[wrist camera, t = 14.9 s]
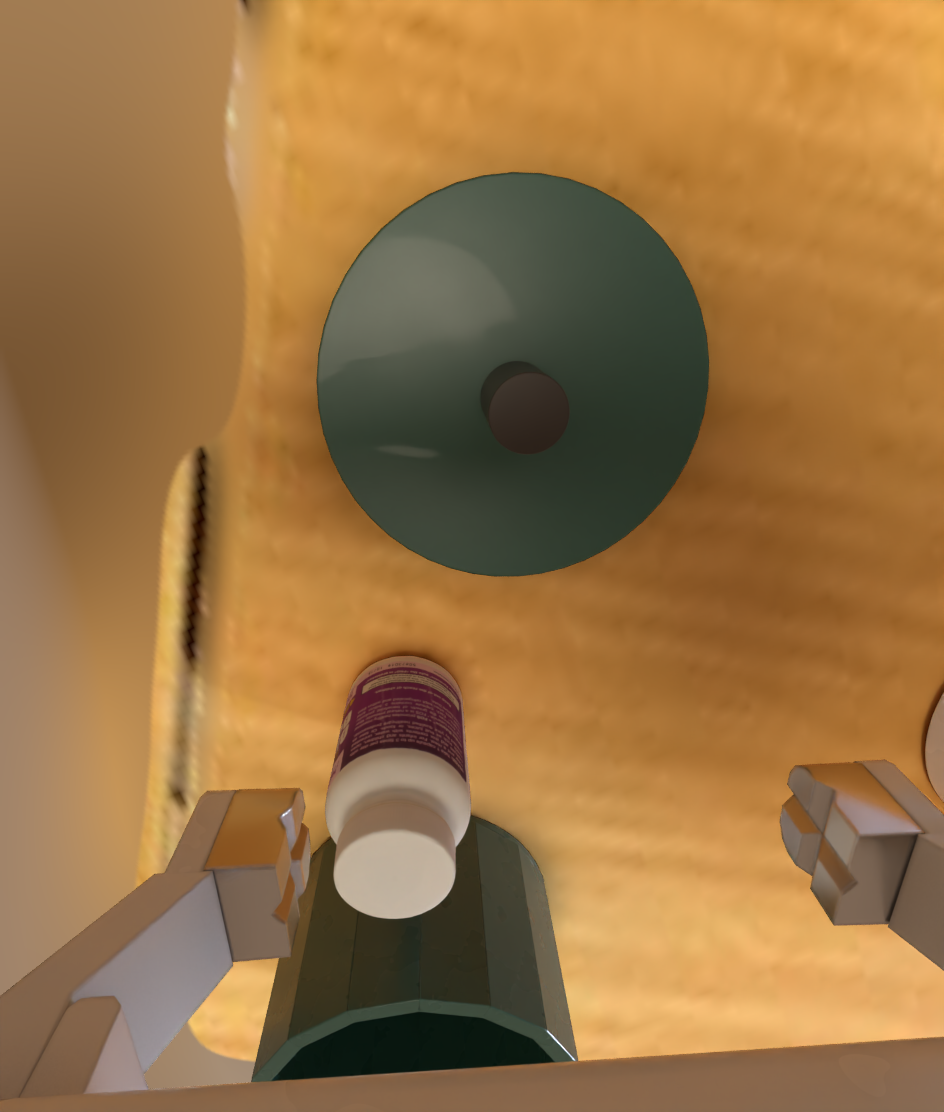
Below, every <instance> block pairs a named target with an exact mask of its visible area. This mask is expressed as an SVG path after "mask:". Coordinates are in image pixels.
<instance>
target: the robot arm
mask: <svg viewBox="0 0 944 1112" xmlns="http://www.w3.org/2000/svg"><path fill="white" fill-rule="evenodd" d="M925 759H926V767H927V772H928V776H929V779H930V782H931V784H932V786H933V788H934V790H935V792H936V793H937V795H938V796H939V797H940V799H941V800H942V801H943V802H944V693H943V694H942V696H941V698H940V700H939V702H938V704H937V706H936V709H935V711H934V713H933V716H932V719H931V722H930V725H929V729H928V733H927V739H926V748H925ZM787 785H788V786H789V788H790V789H791V791H792V792H793V795H792V796H791V797H790V798H789V799H788V800H787V801H786V802H785V803H784V804H783V805H782V811H781V817H780V826H781V833H782V839H783V842H784V844H785V847H786V849H787V852H788V854H789V855H790V857H791V858H792V860H793V862H794V863H795V865H796V866H798V867H799V868H801V869H802V870H804V871H805V872H807V873H808V874H810V875H811V876H812V880H811V887H810V889H811V890H812V892H813V894H814V895H815V897H816V898H817V900H818V901H819V903H820V905H821V906H822V908H823V909H824V911H825V912H826V914H827V916H828V917H829V919H830V920H831V922H832V923H833V925H870V924H889V925H888V927H889V928H890V929H891V930H893V931H894V932H895V933H896V934H898V935H899V936H900V937H902V938H903V939H904V940H905V941H907V942H908V943H909V944H910V945H912V946H913V947H914V948H916V949H917V950H918V951H919V952H921V953H922V954H923V955H925V956H926V957H927V958H928V959H930V960H931V961H932V962H933V963H935V964H936V965H937V966H939V967H940V968H941V969H942V970H944V815H943V814H942V813H941V812H940V811H939V810H938V809H937V808H936V807H935V806H934V805H933V804H932V803H931V801H930V800H929V799H928V798H927V797H926V796H925V795H924V794H923V793H922V792H921V791H920V790H919V789H918V788H917V787H916V786H915V785H914V784H913V783H912V782H911V781H910V780H909V779H908V778H907V777H906V776H905V775H904V774H903V773H902V772H901V771H900V770H899V769H898V768H897V767H896V766H895V765H894V764H893V763H891V762H889V761H887V760H885V759H884V760H869V761H855V762H844V763H825V764H807V765H795V766H794V768H793V769H792V770H791V771H790V774H789V778H788V783H787ZM304 811H305V802H304V796H303V791H302V790H301V789H300V788H283V789H239V790H222V791H206V792H205V793H204V794H203V795H202V796H201V797H200V799H199V801H198V803H197V805H196V807H195V809H194V811H193V814H192V816H191V818H190V820H189V822H188V824H187V826H186V828H185V831H184V833H183V835H182V837H181V839H180V841H179V843H178V845H177V848H176V850H175V852H174V854H173V856H172V858H171V860H170V862H169V865H168V867H167V869H166V871H165V873H163V874H154V875H153V876H151V877H150V878H149V879H148V880H146V881H145V882H144V883H143V884H141V885H140V886H139V887H137V888H136V889H135V890H134V891H132V892H131V893H130V894H129V895H127V896H126V897H125V898H124V899H122V900H121V901H120V902H119V903H117V904H116V905H115V906H114V907H112V908H111V909H110V910H109V911H107V912H106V913H105V914H103V915H102V916H101V917H100V918H98V919H97V920H96V921H94V922H93V923H92V924H91V925H89V926H88V927H87V928H86V929H84V930H83V931H82V932H81V933H79V934H78V935H77V936H75V937H74V938H73V939H72V940H70V941H69V942H68V943H67V944H66V945H64V946H63V947H62V948H61V949H59V950H58V951H57V952H56V953H54V954H53V955H52V956H50V957H49V958H48V959H46V960H45V961H44V962H43V963H41V964H40V965H39V966H38V967H36V968H35V969H34V970H32V971H31V972H30V973H29V974H27V975H26V976H25V977H24V978H22V979H21V980H20V981H19V982H17V983H16V984H15V985H13V986H12V987H11V988H10V989H8V990H7V991H6V992H5V993H3V994H2V995H1V996H0V1112H944V1037H931V1038H916V1039H901V1040H886V1041H872V1042H857V1043H842V1044H827V1045H813V1046H798V1047H783V1048H768V1049H753V1050H739V1051H724V1052H708V1053H693V1054H678V1055H662V1056H647V1057H632V1058H616V1059H601V1060H586V1061H570V1062H555V1063H540V1064H524V1065H509V1066H494V1067H479V1068H464V1069H449V1070H433V1071H418V1072H403V1073H388V1074H373V1075H358V1076H343V1077H328V1078H312V1079H297V1080H282V1081H267V1082H252V1083H237V1084H222V1085H207V1086H191V1087H176V1088H161V1089H148V1086H147V1083H146V1080H145V1077H144V1074H145V1072H146V1071H147V1070H148V1069H149V1068H150V1066H151V1065H152V1064H153V1063H154V1061H155V1060H156V1059H157V1057H159V1055H160V1054H161V1053H162V1052H163V1050H164V1049H165V1048H166V1047H167V1046H168V1044H169V1043H170V1042H171V1041H172V1039H173V1038H174V1037H175V1036H176V1035H177V1033H178V1032H179V1031H180V1030H181V1028H182V1027H183V1026H184V1025H185V1024H186V1022H187V1021H188V1020H189V1019H190V1018H191V1016H192V1015H193V1014H194V1013H195V1011H196V1010H197V1009H198V1008H199V1007H200V1005H201V1004H202V1003H203V1002H204V1000H205V999H206V998H207V997H208V996H209V994H210V993H211V992H212V991H213V989H214V988H215V987H216V986H217V985H218V983H219V982H220V981H221V980H222V979H223V977H224V976H225V975H226V974H227V972H228V971H229V970H230V969H231V968H232V966H233V963H232V962H238V961H249V960H260V959H272V958H283V957H291V954H292V949H293V945H294V940H295V936H296V932H297V927H298V923H299V918H300V914H299V907H298V900H297V899H298V898H299V897H300V896H301V895H302V894H303V893H304V892H305V890H306V885H307V880H308V875H309V865H310V837H309V829H308V828H307V827H306V826H305V825H304V824H303V823H302V819H303V815H304Z"/></svg>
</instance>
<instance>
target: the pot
mask: <svg viewBox="0 0 944 1112" xmlns="http://www.w3.org/2000/svg"><path fill="white" fill-rule="evenodd" d="M336 846H337V845H336V843H335V842H334V840H333V839H332V838H331V839H330V840H328V841H327V842H326V843H325V844H323V845H322V846H321V847H320V848H319V849H318V851H317V852H316V853H315V854H314V855H313V856H312V857H311V859H310V865H309V875H308V880H307V885H306V890H305V892H304V893H303V894H302V895H301V896H300V897H299V898H298V899H297V900H298V907H299V914H300V918H299V923H298V927H297V932H296V936H295V940H294V945H293V949H292V954H291V957H283V958H279V961H278V966H277V970H276V975H275V979H274V983H273V988H272V992H271V997H270V1001H269V1005H268V1010H267V1014H266V1018H265V1023H264V1027H263V1032H262V1036H261V1040H260V1045H259V1049H258V1053H257V1058H256V1062H255V1067H254V1071H253V1076H252V1080H251V1083H252V1082H267V1081H282V1080H297V1079H312V1078H328V1077H343V1076H358V1075H373V1074H388V1073H403V1072H418V1071H433V1070H449V1069H464V1068H479V1067H494V1066H509V1065H524V1064H540V1063H555V1062H570V1061H578V1056H577V1051H576V1046H575V1041H574V1035H573V1030H572V1025H571V1020H570V1014H569V1009H568V1004H567V999H566V994H565V988H564V983H563V978H562V973H561V968H560V962H559V957H558V952H557V947H556V942H555V936H554V931H553V926H552V921H551V915H550V910H549V905H548V900H547V895H546V889H545V884H544V879H543V876H542V874H541V873H540V870H539V868H538V866H537V864H536V862H535V860H534V859H533V858H532V856H531V855H530V853H529V852H528V851H527V850H526V848H525V847H524V846H523V845H522V844H521V843H520V842H519V841H518V840H516V839H515V838H514V837H513V836H511V835H510V834H509V833H507V832H506V831H504V830H502V829H501V828H499V827H497V826H496V825H494V824H492V823H489V822H487V821H485V820H483V819H480V818H477V817H474V816H470V820H469V824H468V827H467V829H466V832H465V834H464V836H463V838H462V839H461V841H460V842H459V844H458V845H457V846H456V853H455V863H456V873H455V880H454V883H453V886H452V888H451V890H450V892H449V893H448V895H447V896H446V897H445V898H444V900H442V901H441V902H440V903H439V904H438V905H437V906H435V907H434V908H432V909H431V910H428V911H426V912H425V913H422V914H419V915H416V916H413V917H409V918H399V919H387V918H379V917H374V916H370V915H367V914H364V913H362V912H360V911H358V910H356V909H355V908H353V907H352V906H350V905H349V904H348V903H347V902H346V901H345V900H344V899H343V898H342V897H341V896H340V894H339V893H338V891H337V889H336V886H335V882H334V875H333V874H334V863H335V854H336Z"/></svg>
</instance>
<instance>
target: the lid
mask: <svg viewBox="0 0 944 1112" xmlns="http://www.w3.org/2000/svg"><path fill="white" fill-rule="evenodd" d="M708 379H709V356H708V345H707V335H706V330H705V326H704V322H703V317H702V313H701V309H700V306H699V303H698V301H697V298H696V295H695V293H694V290H693V287H692V285H691V283H690V281H689V279H688V277H687V275H686V273H685V271H684V270H683V268H682V266H681V264H680V262H679V260H678V259H677V258H676V256H675V255H674V253H673V252H672V251H671V249H670V248H669V247H668V245H667V244H666V243H665V241H664V240H663V239H662V237H661V236H660V235H659V234H658V233H657V232H656V231H655V230H654V229H653V228H652V227H651V226H650V225H649V224H648V223H647V222H646V221H645V220H644V219H643V218H642V217H640V216H639V215H638V214H636V213H635V212H634V211H632V210H631V209H630V208H628V207H627V206H626V205H624V204H623V203H622V202H620V201H618V200H617V199H615V198H613V197H611V196H609V195H607V194H605V193H604V192H602V191H600V190H598V189H596V188H594V187H591V186H588V185H585V184H582V183H580V182H577V181H574V180H571V179H568V178H563V177H558V176H552V175H547V174H542V173H521V172H509V173H500V174H491V175H483V176H479V177H476V178H472V179H468V180H464V181H461V182H457V183H454V184H452V185H450V186H447V187H445V188H443V189H440V190H438V191H436V192H433V193H431V194H429V195H427V196H425V197H424V198H422V199H421V200H419V201H417V202H416V203H414V204H413V205H411V206H409V207H408V208H406V209H404V210H403V211H402V212H401V213H400V214H398V215H397V216H396V217H395V218H394V219H392V220H391V221H390V222H389V223H388V224H386V225H385V226H384V227H383V228H382V229H381V230H380V231H379V232H378V233H377V234H376V235H375V236H374V237H373V238H372V240H371V241H370V242H369V243H368V244H367V245H366V246H365V247H364V248H363V250H362V251H361V252H360V254H359V255H358V257H357V258H356V260H355V261H354V263H353V264H352V265H351V267H350V268H349V270H348V271H347V273H346V274H345V276H344V278H343V280H342V282H341V284H340V286H339V288H338V290H337V292H336V294H335V296H334V298H333V301H332V304H331V307H330V310H329V313H328V316H327V318H326V321H325V324H324V328H323V333H322V338H321V343H320V348H319V353H318V367H317V395H318V408H319V414H320V419H321V424H322V429H323V434H324V437H325V440H326V443H327V446H328V449H329V452H330V455H331V458H332V460H333V462H334V464H335V466H336V468H337V470H338V472H339V474H340V476H341V478H342V480H343V482H344V483H345V485H346V487H347V488H348V490H349V491H350V493H351V494H352V496H353V497H354V499H355V500H356V502H357V503H358V504H359V505H360V506H361V508H362V509H363V510H364V511H365V512H366V513H367V515H368V516H369V517H370V518H371V519H372V520H373V521H374V522H375V523H376V524H377V525H378V526H379V527H380V528H382V529H383V530H384V531H385V532H386V533H387V534H388V535H389V536H391V537H392V538H393V539H395V540H396V541H398V542H399V543H401V544H402V545H403V546H405V547H406V548H408V549H409V550H411V551H413V552H415V553H417V554H419V555H421V556H422V557H424V558H426V559H428V560H430V561H433V562H436V563H438V564H441V565H444V566H446V567H449V568H452V569H456V570H460V571H464V572H468V573H472V574H480V575H488V576H525V575H533V574H541V573H545V572H550V571H554V570H558V569H562V568H565V567H568V566H570V565H573V564H576V563H578V562H581V561H584V560H586V559H588V558H590V557H592V556H594V555H596V554H598V553H600V552H602V551H604V550H606V549H607V548H609V547H610V546H612V545H613V544H615V543H616V542H618V541H619V540H621V539H622V538H624V537H625V536H626V535H628V534H629V533H630V532H631V531H632V530H633V529H635V528H636V527H637V526H638V525H639V524H641V523H642V522H643V521H644V520H645V519H646V518H647V517H648V516H649V515H650V514H651V512H652V511H653V510H654V509H655V508H656V507H657V506H658V505H659V504H660V503H661V501H662V500H663V499H664V497H665V496H666V495H667V493H668V492H669V491H670V489H671V488H672V486H673V485H674V484H675V482H676V480H677V479H678V477H679V475H680V473H681V472H682V470H683V468H684V466H685V465H686V463H687V461H688V459H689V456H690V454H691V451H692V449H693V447H694V444H695V442H696V440H697V437H698V433H699V430H700V426H701V423H702V419H703V416H704V411H705V405H706V399H707V392H708Z"/></svg>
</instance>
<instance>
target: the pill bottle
mask: <svg viewBox="0 0 944 1112" xmlns="http://www.w3.org/2000/svg"><path fill="white" fill-rule="evenodd" d="M470 813H471V798H470V784H469V773H468V762H467V752H466V740H465V726H464V712H463V700H462V695H461V691H460V689H459V686H458V684H457V683H456V681H455V680H454V678H453V677H452V676H451V675H450V673H449V672H448V671H447V670H445V669H444V668H443V667H441V666H439V665H438V664H436V663H434V662H432V661H429V660H427V659H424V658H420V657H416V656H397V657H391V658H387V659H383V660H381V661H378V662H376V663H374V664H372V665H371V666H369V667H368V668H366V669H365V670H364V671H363V672H362V673H361V674H360V675H359V676H358V677H357V679H356V680H355V681H354V683H353V685H352V687H351V689H350V692H349V695H348V698H347V703H346V707H345V711H344V716H343V722H342V725H341V730H340V734H339V739H338V744H337V748H336V753H335V758H334V764H333V768H332V772H331V777H330V782H329V786H328V791H327V797H326V805H325V816H326V823H327V827H328V830H329V832H330V835H331V837H332V839H333V840H334V842H335V843H336V845H337V846H336V854H335V863H334V874H333V875H334V882H335V886H336V889H337V891H338V893H339V894H340V896H341V897H342V898H343V899H344V900H345V901H346V902H347V903H348V904H349V905H350V906H352V907H353V908H355V909H356V910H358V911H360V912H362V913H364V914H367V915H370V916H374V917H379V918H387V919H399V918H409V917H413V916H416V915H419V914H422V913H425V912H426V911H428V910H431V909H432V908H434V907H435V906H437V905H438V904H439V903H440V902H441V901H442V900H444V898H445V897H446V896H447V895H448V893H449V892H450V890H451V888H452V886H453V883H454V880H455V873H456V863H455V853H456V846H457V845H458V844H459V842H460V841H461V839H462V838H463V836H464V834H465V832H466V829H467V827H468V824H469V820H470Z"/></svg>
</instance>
